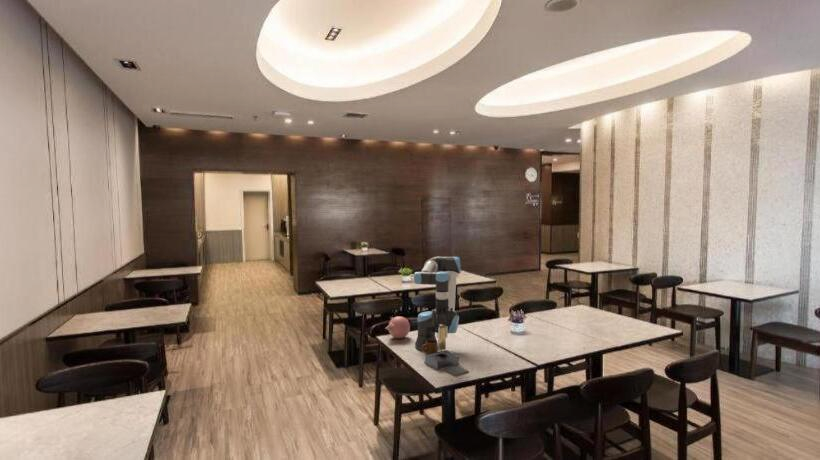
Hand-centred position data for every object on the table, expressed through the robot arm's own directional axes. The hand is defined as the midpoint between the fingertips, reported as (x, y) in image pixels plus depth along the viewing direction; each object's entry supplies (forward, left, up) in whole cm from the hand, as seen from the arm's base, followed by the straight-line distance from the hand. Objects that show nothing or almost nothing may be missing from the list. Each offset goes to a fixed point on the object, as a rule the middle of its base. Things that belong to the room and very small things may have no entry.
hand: (442, 337), depth 236 cm
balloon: (-54, +2, -16) cm, 56 cm away
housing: (0, 0, -16) cm, 16 cm away
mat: (+13, 0, -16) cm, 21 cm away
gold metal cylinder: (0, 0, -7) cm, 7 cm away
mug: (-13, 0, -16) cm, 21 cm away
